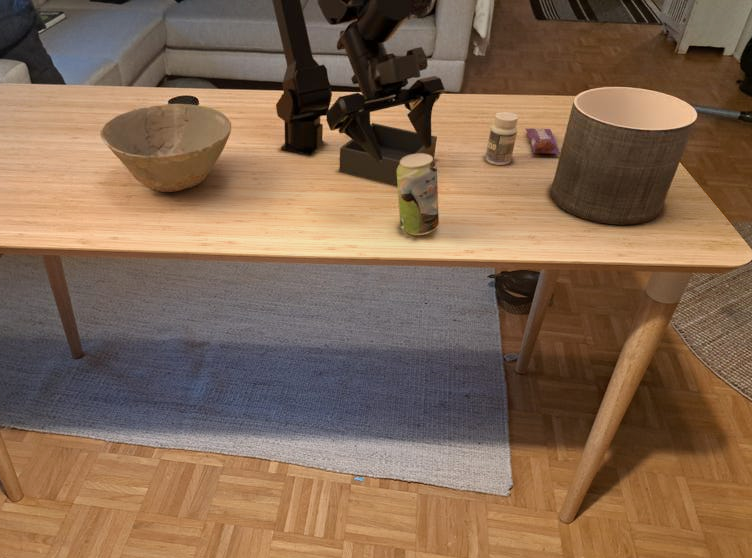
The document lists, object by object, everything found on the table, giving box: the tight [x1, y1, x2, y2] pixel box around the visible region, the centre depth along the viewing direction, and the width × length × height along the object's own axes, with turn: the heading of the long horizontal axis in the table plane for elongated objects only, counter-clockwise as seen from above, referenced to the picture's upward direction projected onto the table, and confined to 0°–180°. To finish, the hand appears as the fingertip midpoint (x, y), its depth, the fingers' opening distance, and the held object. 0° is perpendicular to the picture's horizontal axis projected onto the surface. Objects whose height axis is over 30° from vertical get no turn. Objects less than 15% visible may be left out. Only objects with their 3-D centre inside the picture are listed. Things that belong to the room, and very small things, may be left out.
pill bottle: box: [485, 111, 519, 166], centre depth 125 cm, size 5×5×8 cm
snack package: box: [525, 127, 561, 155], centre depth 132 cm, size 12×2×5 cm
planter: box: [550, 86, 698, 225], centre depth 110 cm, size 18×18×16 cm
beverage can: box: [397, 153, 440, 236], centre depth 105 cm, size 6×7×12 cm
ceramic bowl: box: [99, 103, 232, 193], centre depth 120 cm, size 22×23×10 cm
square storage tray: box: [338, 122, 438, 187], centre depth 125 cm, size 13×13×5 cm
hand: (405, 154), depth 105 cm, fingers open, 9 cm apart
